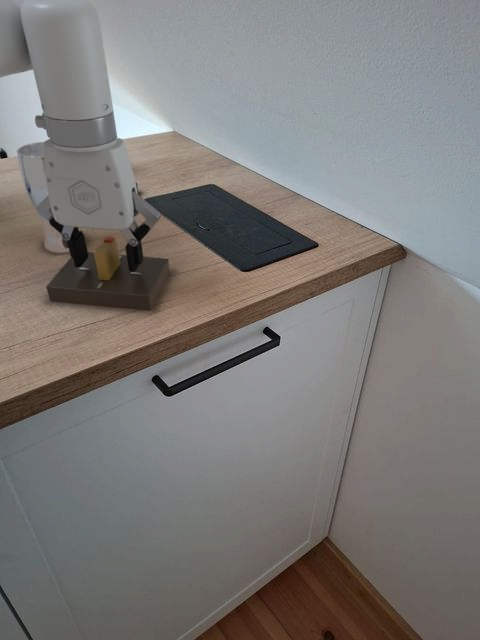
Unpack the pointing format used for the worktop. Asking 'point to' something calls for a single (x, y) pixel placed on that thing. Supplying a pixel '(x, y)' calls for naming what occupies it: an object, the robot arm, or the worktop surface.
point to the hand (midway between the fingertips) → (108, 264)
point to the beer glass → (39, 191)
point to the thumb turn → (107, 258)
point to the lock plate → (110, 284)
